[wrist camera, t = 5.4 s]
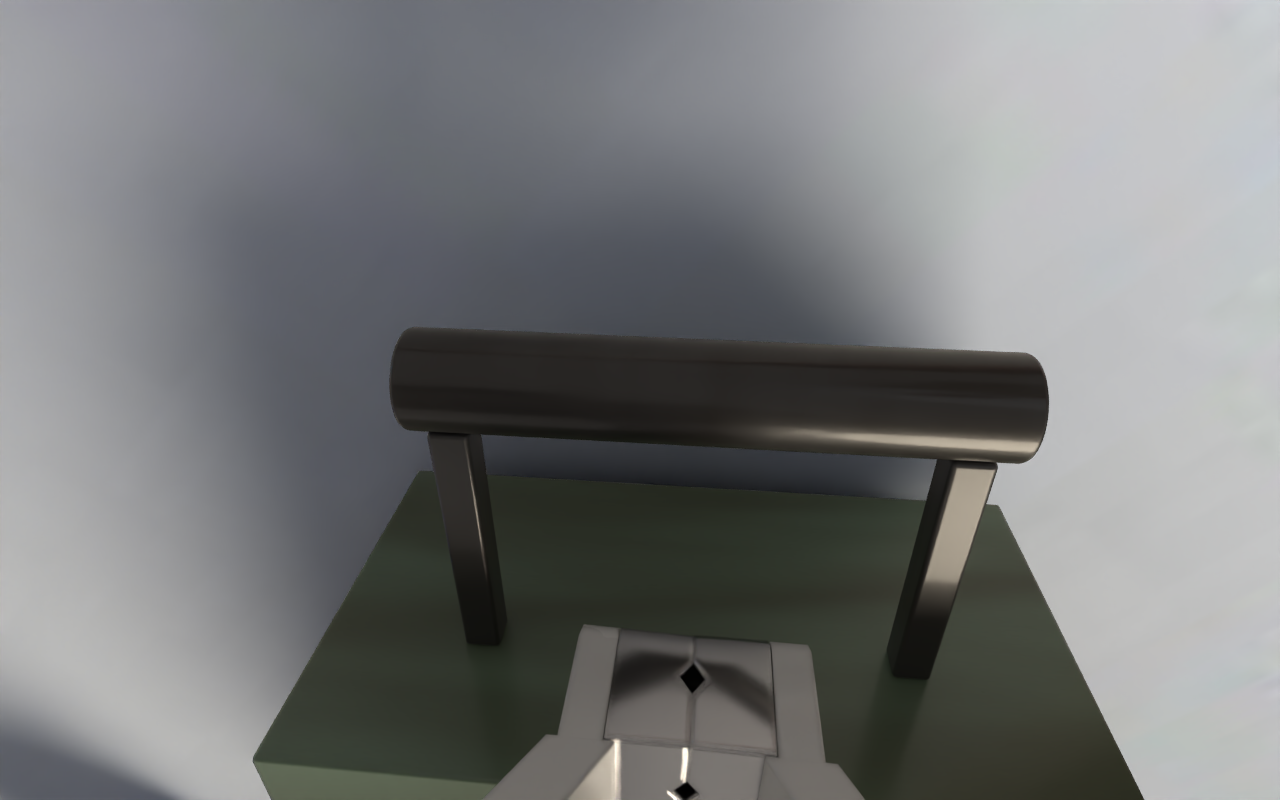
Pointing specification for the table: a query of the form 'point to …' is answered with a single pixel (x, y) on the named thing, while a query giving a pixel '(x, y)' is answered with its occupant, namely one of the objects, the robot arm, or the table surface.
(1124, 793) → the drawer
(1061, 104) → the table surface
